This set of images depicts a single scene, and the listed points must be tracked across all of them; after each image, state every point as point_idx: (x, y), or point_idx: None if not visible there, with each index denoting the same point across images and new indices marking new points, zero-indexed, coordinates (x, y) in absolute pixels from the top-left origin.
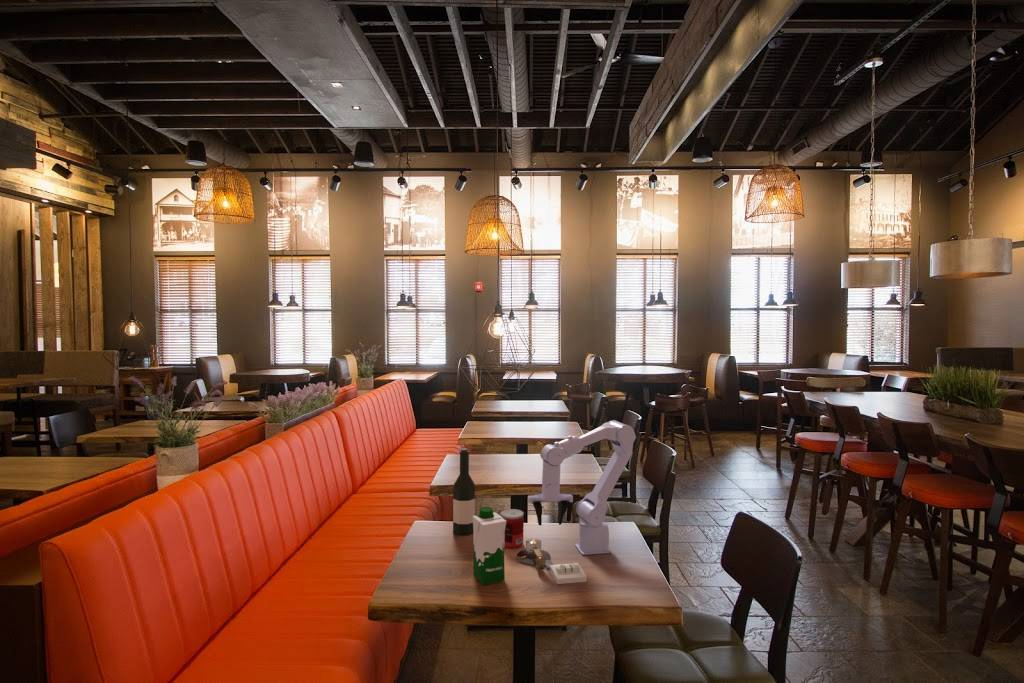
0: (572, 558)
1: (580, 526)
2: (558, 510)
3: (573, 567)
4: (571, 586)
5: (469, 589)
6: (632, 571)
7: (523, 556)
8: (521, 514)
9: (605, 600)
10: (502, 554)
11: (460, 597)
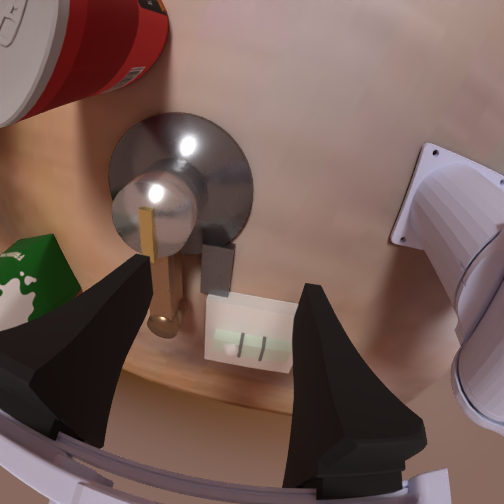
0: (337, 244)
1: (456, 271)
2: (318, 363)
3: (266, 359)
4: None
5: None
6: (428, 353)
7: None
8: (36, 63)
9: (283, 405)
10: None
11: None
